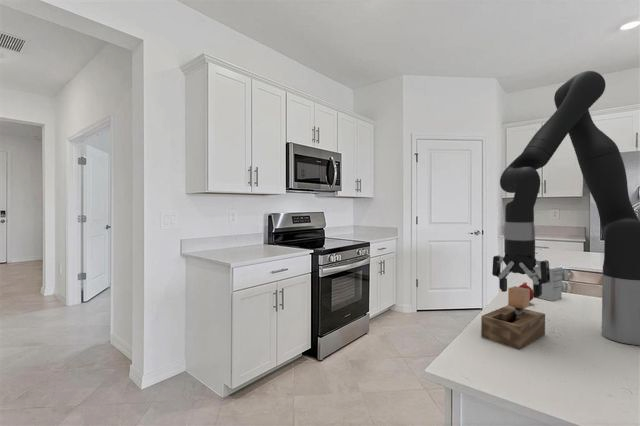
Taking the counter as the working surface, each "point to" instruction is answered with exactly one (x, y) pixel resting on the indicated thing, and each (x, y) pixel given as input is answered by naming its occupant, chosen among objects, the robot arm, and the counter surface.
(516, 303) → the brown square-topped part
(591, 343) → the counter surface
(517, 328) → the keyhole block
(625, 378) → the counter surface
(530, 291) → the onion
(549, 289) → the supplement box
